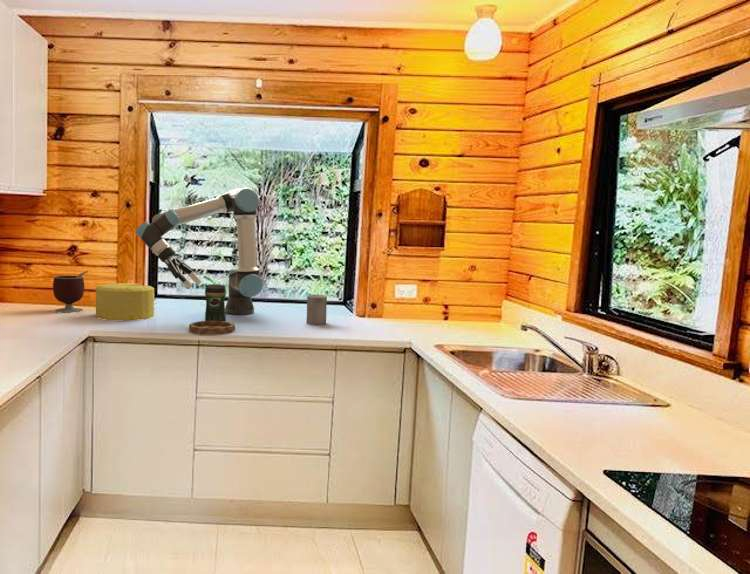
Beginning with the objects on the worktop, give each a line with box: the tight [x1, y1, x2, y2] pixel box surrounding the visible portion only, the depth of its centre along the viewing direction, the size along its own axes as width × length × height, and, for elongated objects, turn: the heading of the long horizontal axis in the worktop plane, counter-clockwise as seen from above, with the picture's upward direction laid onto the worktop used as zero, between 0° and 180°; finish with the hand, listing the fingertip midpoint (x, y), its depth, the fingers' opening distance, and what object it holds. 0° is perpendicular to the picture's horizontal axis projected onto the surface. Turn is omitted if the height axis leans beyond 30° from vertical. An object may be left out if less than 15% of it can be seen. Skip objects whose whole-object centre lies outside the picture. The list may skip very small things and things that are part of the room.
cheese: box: [95, 282, 155, 321], centre depth 289 cm, size 26×26×15 cm
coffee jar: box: [204, 283, 227, 322], centre depth 280 cm, size 10×8×19 cm
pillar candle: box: [306, 293, 328, 326], centre depth 294 cm, size 10×10×15 cm
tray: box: [188, 320, 236, 335], centre depth 265 cm, size 19×19×3 cm
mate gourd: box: [52, 270, 88, 314], centre depth 297 cm, size 16×14×20 cm
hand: (195, 285), depth 279 cm, fingers open, 13 cm apart
